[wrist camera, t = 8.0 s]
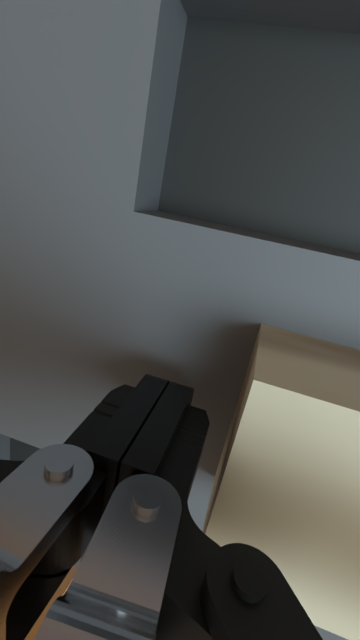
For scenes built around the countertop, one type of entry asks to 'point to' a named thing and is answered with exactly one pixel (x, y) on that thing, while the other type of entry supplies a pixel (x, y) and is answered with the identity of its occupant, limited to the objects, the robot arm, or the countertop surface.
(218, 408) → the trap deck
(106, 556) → the robot arm
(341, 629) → the birch block
